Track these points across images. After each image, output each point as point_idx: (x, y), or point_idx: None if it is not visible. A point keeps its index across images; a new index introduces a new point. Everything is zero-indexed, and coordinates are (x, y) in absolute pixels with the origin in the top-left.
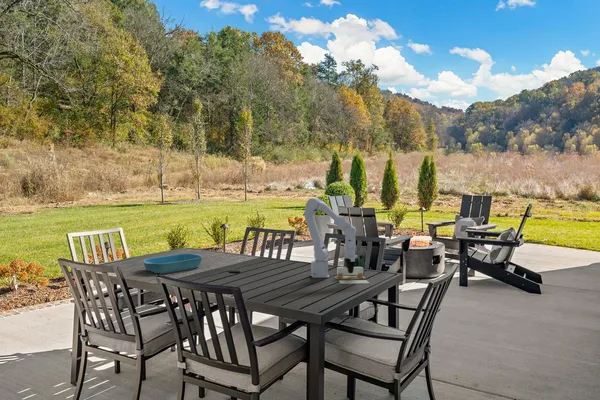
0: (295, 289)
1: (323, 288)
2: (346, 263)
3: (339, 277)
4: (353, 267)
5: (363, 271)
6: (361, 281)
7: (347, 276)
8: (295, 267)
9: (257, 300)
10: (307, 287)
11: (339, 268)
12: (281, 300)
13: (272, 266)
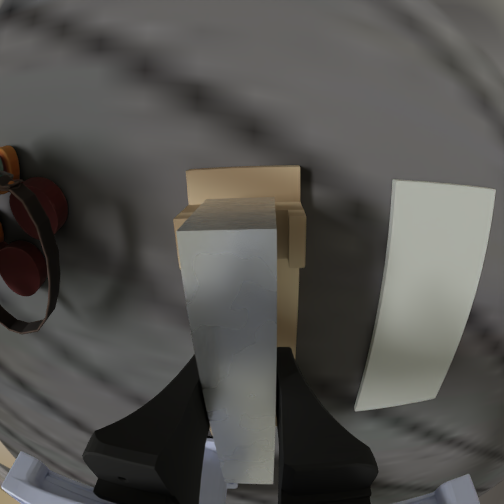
0: (425, 492)
1: (464, 441)
2: (201, 470)
3: None
4: (313, 396)
5: (9, 153)
6: (441, 249)
7: None
8: (38, 455)
9: None
10: (419, 480)
11: (273, 474)
12: (497, 476)
13: None
